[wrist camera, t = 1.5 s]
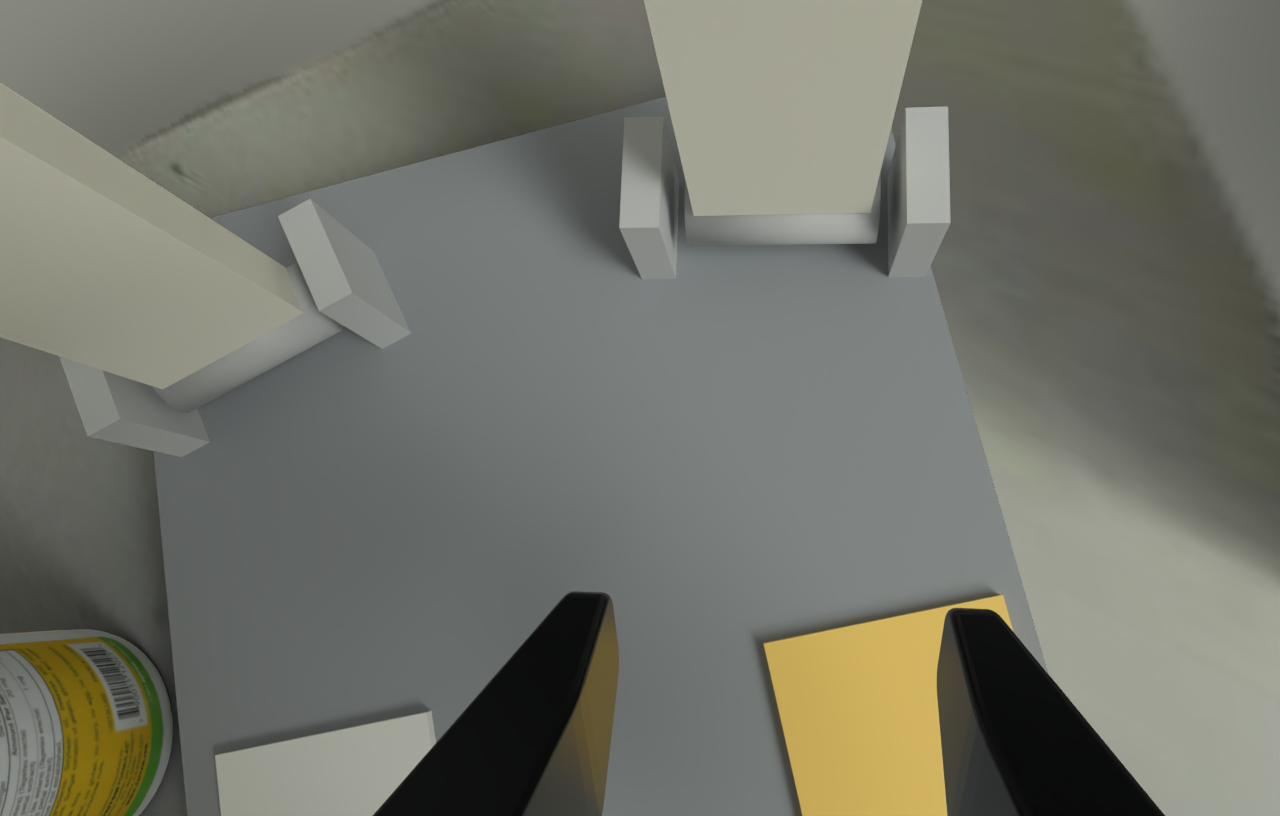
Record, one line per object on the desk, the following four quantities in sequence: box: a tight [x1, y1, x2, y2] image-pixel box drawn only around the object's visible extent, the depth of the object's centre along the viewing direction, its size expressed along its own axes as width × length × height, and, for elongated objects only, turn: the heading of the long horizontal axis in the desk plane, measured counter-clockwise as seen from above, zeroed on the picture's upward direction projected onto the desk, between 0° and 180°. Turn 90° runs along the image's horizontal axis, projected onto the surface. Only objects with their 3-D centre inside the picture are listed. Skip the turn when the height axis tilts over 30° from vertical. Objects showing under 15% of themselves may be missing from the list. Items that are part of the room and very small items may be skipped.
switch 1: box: [0, 82, 343, 413], centre depth 16 cm, size 2×4×12 cm, turn 117°
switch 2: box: [644, 0, 922, 246], centre depth 15 cm, size 2×4×12 cm, turn 88°
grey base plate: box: [59, 96, 1048, 816], centre depth 21 cm, size 18×19×5 cm
